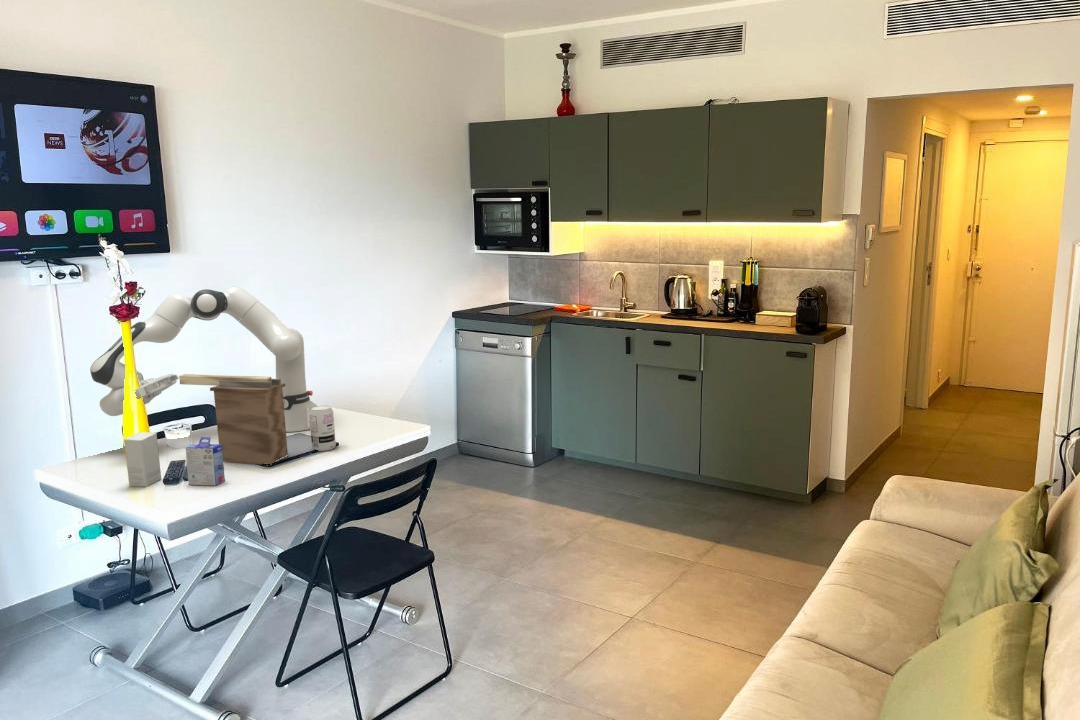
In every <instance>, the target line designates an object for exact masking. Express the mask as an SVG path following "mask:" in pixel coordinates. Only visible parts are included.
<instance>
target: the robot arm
mask: <svg viewBox="0 0 1080 720" xmlns="http://www.w3.org/2000/svg"><path fill="white" fill-rule="evenodd" d="M221 314H227V315H229V316H230V317H232V318H233V319H235V320H236V321H237V322H238V323H239V324H240V325H242V326H243V327H244V328H245V329H247V331H249V332H250V333H251V334H252V335H253V336H255V337H256V338H257V339H258V341H259V342H260V343H261V344H262V345H263V346H264V347H265V348H267V350H269V352H271V354H273V355H274V356H275V379H281V383H285V387H282V391H283V403H284V415H285V427H286V433H288V432H290V433H291V432H301V431H306V430H307V431H308V430H311V428H310V415H309V413H310V410H311V408H312V407H316V406H318V405H317V404H316V403H314V402H313V401H312V400H311V398H310V397H311V396H313V395H314V392H313V390H307V384H306V383H307V382H306V381H307V380H306V368H305V367H306V364H305V362H306V361H305V360H306V359H305V345H304V343H305V342H304V337H303V335H302V333H300V331H298V330H297V329H294V328H290V327H288V326H286V324H285V323H283V321H282V320H281V319H279V317H278V316H276V314H275V313H274V312H273V311H271V309H269V308H268V307H266V305H264V304H263V303H262V302H261V301H260V300H258V299H257V298H256V297H255V296H254V295H252V294H250V293H249V292H247V291H246V290H244V289H243V288H241V287H239V286H232V287H229V288H227V289H225V291H224V292H222V291H218V290H214V289H207V288H205V289H201V290H199V291H197V292H196V293H195V294H194V295H193V296H192V297H188V296H186V295H184V294H182V293H177V292H176V293H175V292H174V293H172V294H170V295H169V296H167V297H166V298H165V299H164V300H163V301H162V302H161V304H160V305H159V306H158V307H157V308H156V309H155V310H154V312H153V314H151V316H149V318H147V319H145V320H144V321H138V322H136V323H134V324H133V325H132V326H130V328H131V332H132V342H133V347H134V346H135V345H137V344H139V343H142V342H148V343H149V342H150V343H155V344H164V343H165V344H166V343H170V342H171V341H173V340H174V339H175V338H176V337H177V336H178V335H179V334H180V332H181V331H182V329H183V327H184V326H185V325H186V324H187V322H188V321H189V320H190V319H191V318H194V319H198V320H202V321H213V320H215V319H217V318H219V316H220V315H221ZM124 356H125V355H124V347H123V339H122V335H121V336H120V337H119V338H118V339H117V340H116V341H115V343H114V344H113V345H112V346H110V347H109V348H108V350H106V351H105V352H104V353H103V354H102V355H100V356H98V358H97V359H95V360H94V362H92V364H91V366H90V371H89V372H90V375H91V378H92V380H93V382H95V383H98V384H100V385H103V386H106V387H108V388H110V389H111V390H110V392H109V393H108V394H106V395H105V396H103V397H102V398H101V399H100V400H99V407H100V409H101V411H102V412H103V413H104V414H106V415H108V416H110V417H118V416H122V415H124V414H123V400H124V379H125V365H126V364H125V363H123V362H120V360H121V359H122V358H123V357H124ZM136 371H137V375H138V379H139V384H140V387H138V388H137V389H136V390H135V391H136V392H135V394H136V396H137V397H136V398H137V399H140V398H141V395H142V397H143V402H144V405H143V406H145V405H147V404H149V403H151V401H152V400H153V399H155V398H156V397H157V396H159V395H160V394H162V393H163V392H164V391H165V390H167V389H169V388H171V387H172V386H173V385H175V384H176V383H177V382H178V381H177V380H178V379H179V376H178V374H174V373H169V374H166V375H162V376H158V377H156V378H154V377H152V378H148V379H144V375H143V374H142V373H141V372H140V371H138V370H136ZM139 388H140V390H139ZM140 392H141V394H140Z"/></svg>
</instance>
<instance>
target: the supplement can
mask: <svg viewBox="0 0 1080 720" xmlns="http://www.w3.org/2000/svg"><path fill="white" fill-rule="evenodd" d="M309 415H310V428H311V429H310V439H311V448H312V449H313V450H314V449H316V450H318V451H317V452H327V451H331V450H333V449H334V448H336V446H337V442H336V432H335V430H336V429H335V417H334V410H333V408H332V406H331V405H317V406H316V407H312V408H311V410H310V413H309Z"/></svg>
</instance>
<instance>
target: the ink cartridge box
mask: <svg viewBox="0 0 1080 720" xmlns="http://www.w3.org/2000/svg"><path fill="white" fill-rule="evenodd" d="M211 438H212V437H209V436H207V437H206V436H201V437H200V438H199V442H198V443H194V444H191V445H188V446H186V447H185V457H186V468H187V469H186V470H187V482H188V485H191V486H193V485H197V486H217V485H219V484H221V483H224V482H226V476H225V467H224V462H223V453H222V444H219V443H211ZM203 440H204V441H203ZM205 440H206V441H205Z"/></svg>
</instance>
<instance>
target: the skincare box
mask: <svg viewBox="0 0 1080 720" xmlns="http://www.w3.org/2000/svg"><path fill="white" fill-rule="evenodd" d="M157 436H158V433H157V432H142V431H139V432H138V433H135V434H133V435H131V436H129V437H127V438H125V439H123V441H124V452H125V453H124V454H125V461H126V468H127V470H126V471H127V478H128V485H129V487H134V488H135V487H140V488H142V487H143V488H147V487H149V486H150V485H153V484H155V483H156V482H159V481H161V480H162V471H161V463H160V453H159V445H158V437H157Z"/></svg>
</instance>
